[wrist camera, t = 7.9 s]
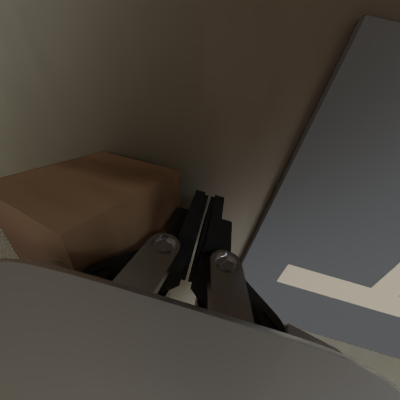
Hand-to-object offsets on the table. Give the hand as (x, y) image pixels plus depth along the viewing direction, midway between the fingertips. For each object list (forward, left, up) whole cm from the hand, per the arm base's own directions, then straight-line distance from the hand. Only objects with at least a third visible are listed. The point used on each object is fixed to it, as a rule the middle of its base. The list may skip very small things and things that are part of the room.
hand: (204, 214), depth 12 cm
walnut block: (+1, -4, -1) cm, 4 cm away
